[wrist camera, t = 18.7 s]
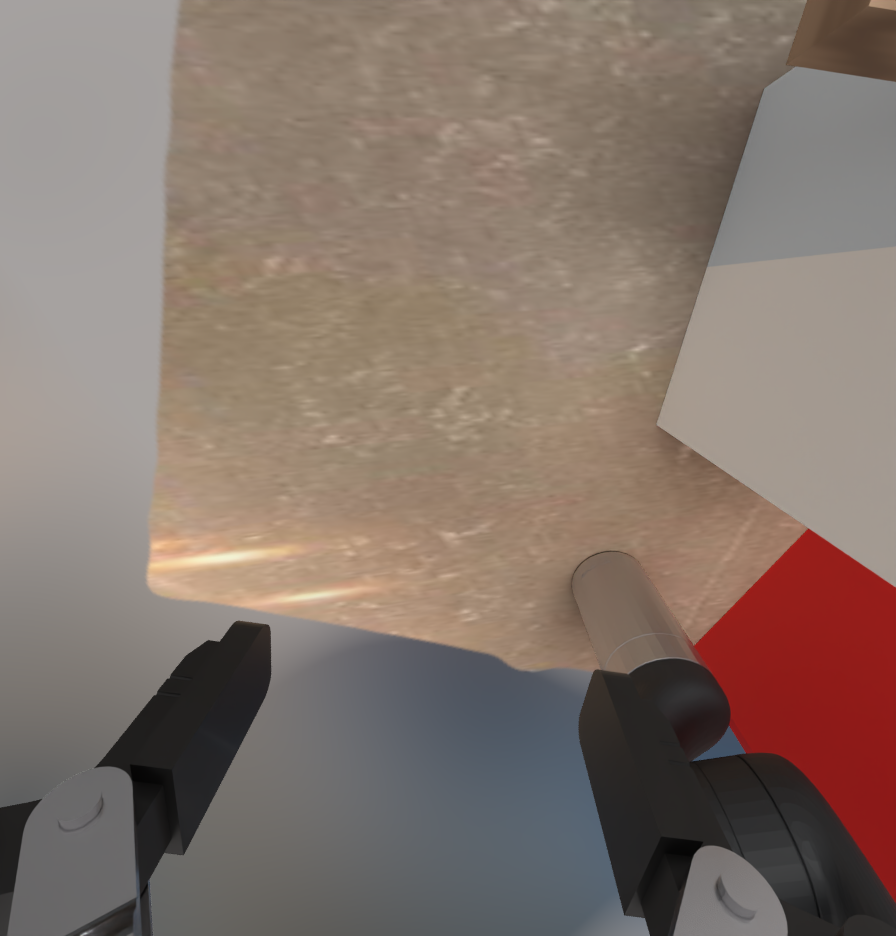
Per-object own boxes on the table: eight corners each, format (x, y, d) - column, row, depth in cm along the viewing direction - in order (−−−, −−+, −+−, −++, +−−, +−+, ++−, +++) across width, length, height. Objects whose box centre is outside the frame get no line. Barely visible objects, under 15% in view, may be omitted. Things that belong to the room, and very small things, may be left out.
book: (834, 501, 51) (1348, 789, 22) (885, 530, 52) (1437, 841, 23) (682, 657, 61) (894, 1009, 31) (728, 679, 62) (974, 1038, 32)
